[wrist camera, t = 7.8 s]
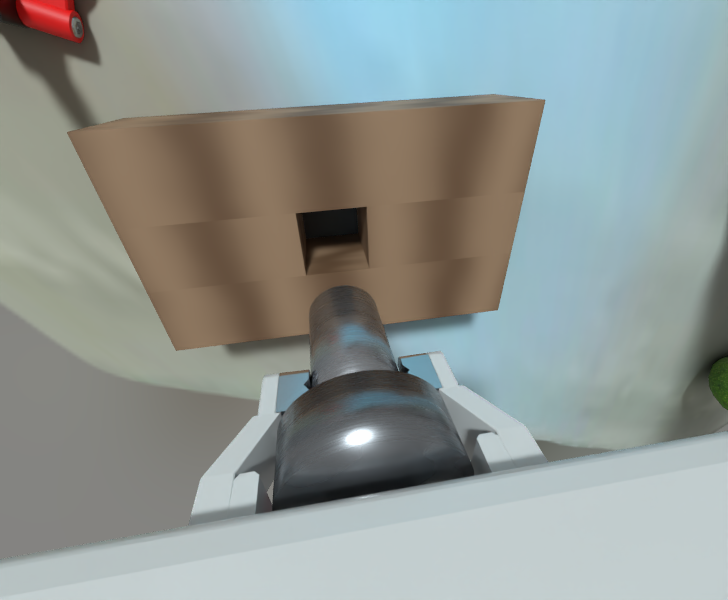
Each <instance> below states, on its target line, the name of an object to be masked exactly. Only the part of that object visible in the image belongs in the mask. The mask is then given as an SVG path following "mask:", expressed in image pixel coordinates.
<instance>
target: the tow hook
mask: <svg viewBox="0 0 728 600" xmlns="http://www.w3.org/2000/svg"><path fill="white" fill-rule="evenodd" d="M0 22H3V23H7V24H11V25H15V26H19V27H24V28H33V29H36V30H40V31H43V32H46V33H49V34H52V35H55V36H58V37H61V38H64V39H67V40H70V41H74V42H77V43H81V42H82V40H83V38H84V26H83V22H82V19H81V17H80V15H79V14H78V13H77V12H76V11H75V7H74V0H0Z"/></svg>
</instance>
